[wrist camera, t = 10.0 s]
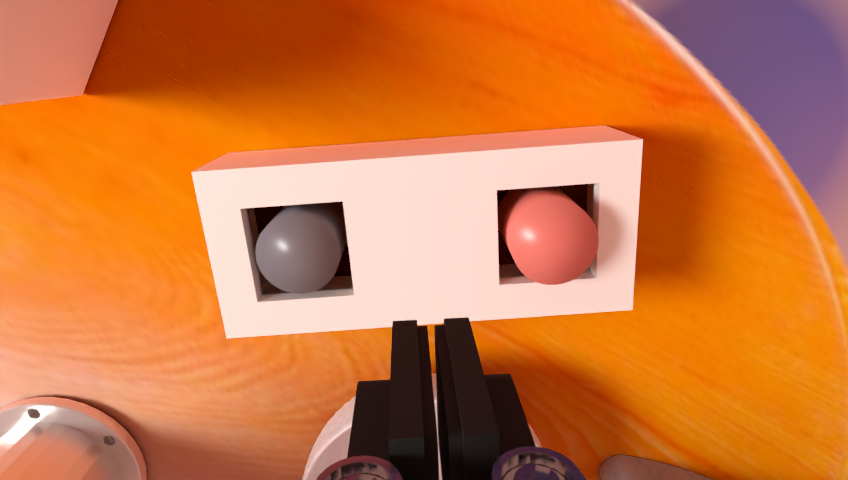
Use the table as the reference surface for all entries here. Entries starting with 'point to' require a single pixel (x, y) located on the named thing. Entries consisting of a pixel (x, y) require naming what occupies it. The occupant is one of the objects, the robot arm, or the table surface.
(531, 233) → the red plunger
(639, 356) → the table surface
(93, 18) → the milk carton
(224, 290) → the box
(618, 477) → the hip flask
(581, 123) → the table surface
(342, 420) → the cereal bowl
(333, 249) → the grey rounded cylinder
